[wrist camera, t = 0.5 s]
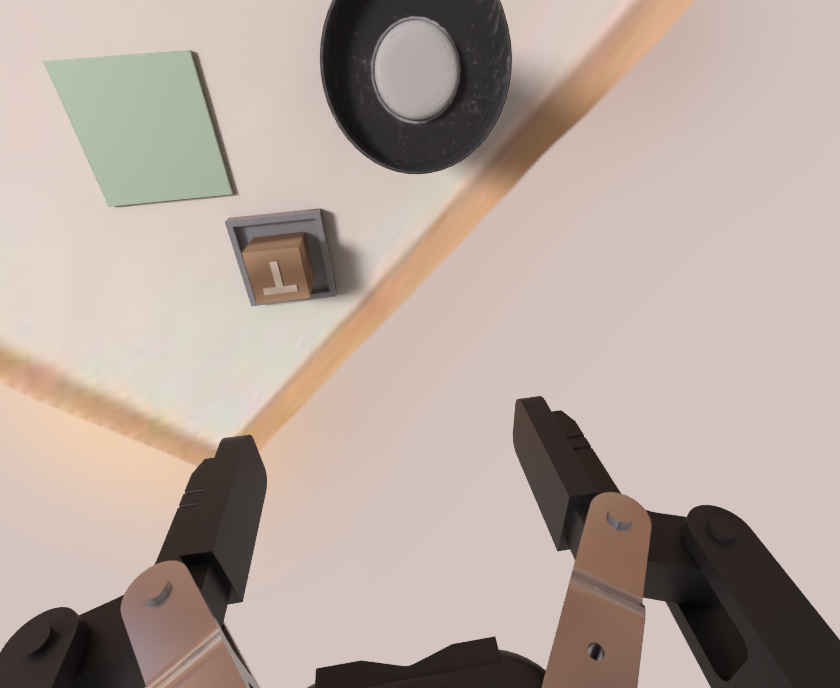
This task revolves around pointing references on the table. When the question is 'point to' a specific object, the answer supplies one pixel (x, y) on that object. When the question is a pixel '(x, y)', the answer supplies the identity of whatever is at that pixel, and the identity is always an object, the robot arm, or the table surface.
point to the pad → (143, 126)
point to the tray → (285, 223)
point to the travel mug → (416, 77)
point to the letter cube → (279, 267)
